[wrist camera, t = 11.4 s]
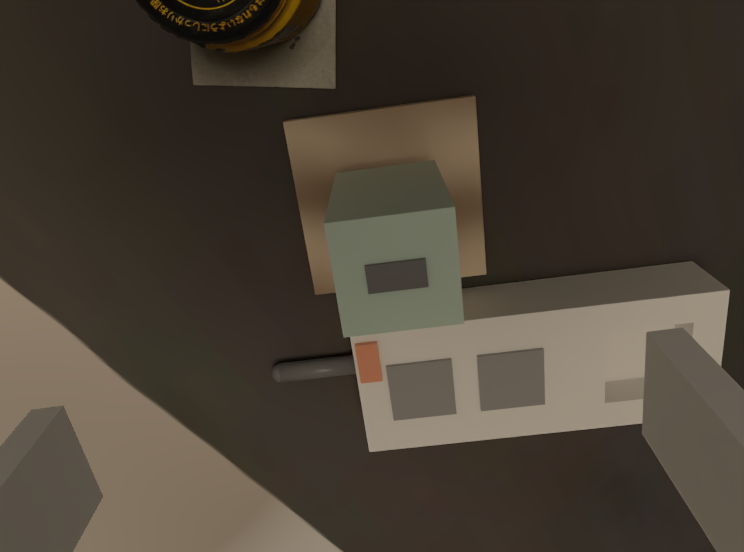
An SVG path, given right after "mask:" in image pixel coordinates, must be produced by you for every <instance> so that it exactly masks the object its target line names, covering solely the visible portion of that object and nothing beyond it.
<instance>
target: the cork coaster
mask: <svg viewBox="0 0 744 552" xmlns="http://www.w3.org/2000/svg"><path fill="white" fill-rule="evenodd" d="M283 126H284V131H285V136H286V141H287V147H288V152H289V157H290V163H291V168H292V173H293V179H294V184H295V189H296V195H297V200H298V205H299V210H300V216H301V221H302V226H303V232H304V237H305V242H306V248H307V253H308V258H309V264H310V269H311V274H312V279H313V285H314V290H315V295H319V294H327V293H335V292H336V291H335V285H334V280H333V274H332V268H331V262H330V257H329V251H328V245H327V239H326V233H325V228H324V220H325V216H326V212H327V208H328V204H329V199H330V195H331V191H332V187H333V183H334V178H335V174H336V173H339V172H347V171H355V170H362V169H370V168H378V167H385V166H393V165H401V164H408V163H416V162H423V161H431V160H435V162H436V164H437V166H438V169H439V171H440V173H441V176H442V178H443V180H444V182H445V185H446V187H447V189H448V192H449V194H450V196H451V199H452V201H453V203H454V206H455V213H456V225H457V238H458V250H459V263H460V275H461V277H469V276H477V275H485V274H486V260H485V243H484V227H483V211H482V194H481V178H480V162H479V145H478V129H477V113H476V97H475V95H467V96H460V97H453V98H445V99H438V100H431V101H423V102H416V103H409V104H401V105H394V106H387V107H379V108H372V109H365V110H357V111H350V112H343V113H335V114H328V115H321V116H313V117H306V118H299V119H291V120H284V122H283Z"/></svg>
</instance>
